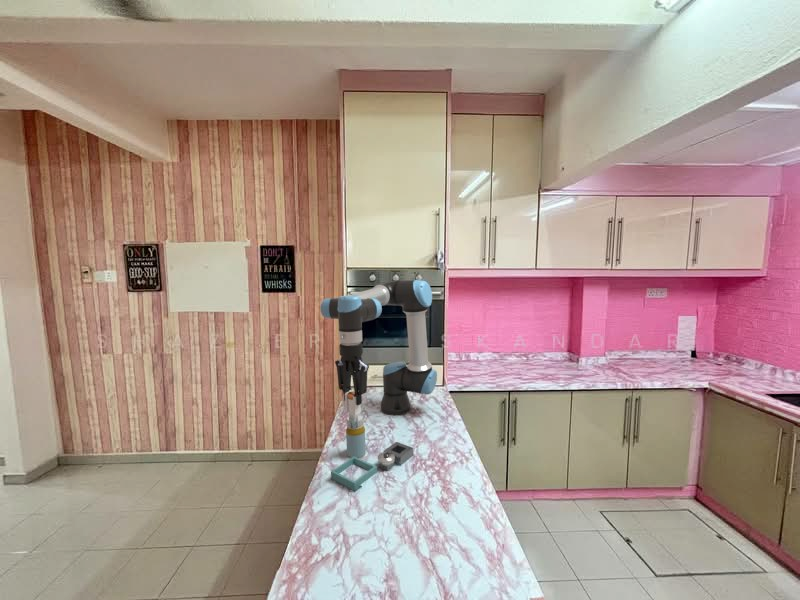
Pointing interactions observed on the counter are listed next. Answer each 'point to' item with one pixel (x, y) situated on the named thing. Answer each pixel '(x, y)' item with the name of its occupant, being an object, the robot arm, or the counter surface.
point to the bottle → (356, 439)
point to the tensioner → (394, 455)
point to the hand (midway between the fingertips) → (353, 412)
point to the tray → (348, 482)
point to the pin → (352, 418)
